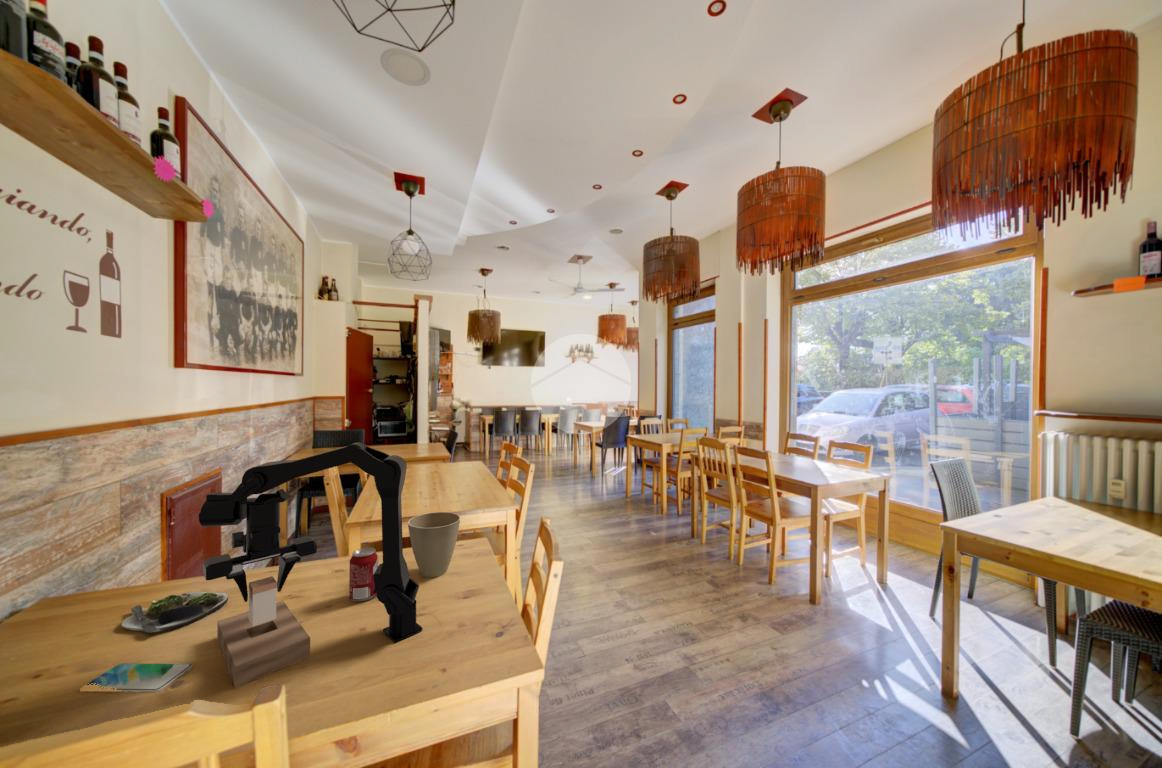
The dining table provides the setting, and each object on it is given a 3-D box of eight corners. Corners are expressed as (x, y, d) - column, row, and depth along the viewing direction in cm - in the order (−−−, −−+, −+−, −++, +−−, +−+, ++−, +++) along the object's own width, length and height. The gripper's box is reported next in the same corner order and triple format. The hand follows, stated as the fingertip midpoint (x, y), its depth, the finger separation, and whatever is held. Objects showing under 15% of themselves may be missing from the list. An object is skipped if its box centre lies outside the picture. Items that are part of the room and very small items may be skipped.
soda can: (369, 603, 107) (370, 556, 107) (343, 603, 107) (344, 556, 107) (382, 590, 114) (383, 546, 114) (358, 590, 114) (358, 546, 114)
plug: (276, 618, 89) (276, 582, 89) (252, 626, 86) (252, 588, 86) (271, 611, 91) (272, 576, 92) (248, 619, 88) (248, 582, 89)
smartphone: (158, 690, 76) (75, 689, 76) (158, 694, 76) (75, 694, 76) (195, 663, 83) (119, 662, 83) (195, 667, 83) (119, 666, 83)
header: (310, 657, 86) (310, 637, 86) (234, 688, 77) (235, 666, 77) (282, 617, 100) (283, 600, 100) (217, 639, 92) (217, 621, 92)
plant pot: (395, 578, 121) (396, 523, 121) (432, 558, 135) (433, 509, 135) (435, 588, 115) (436, 530, 115) (470, 566, 129) (470, 515, 129)
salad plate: (90, 634, 94) (90, 613, 94) (177, 594, 112) (177, 577, 112) (161, 642, 91) (161, 621, 91) (239, 600, 109) (240, 583, 109)
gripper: (303, 506, 101) (302, 570, 101) (199, 525, 87) (199, 599, 87) (317, 516, 94) (317, 585, 93) (206, 538, 80) (205, 619, 80)
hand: (262, 596), depth 89 cm, fingers open, 5 cm apart
